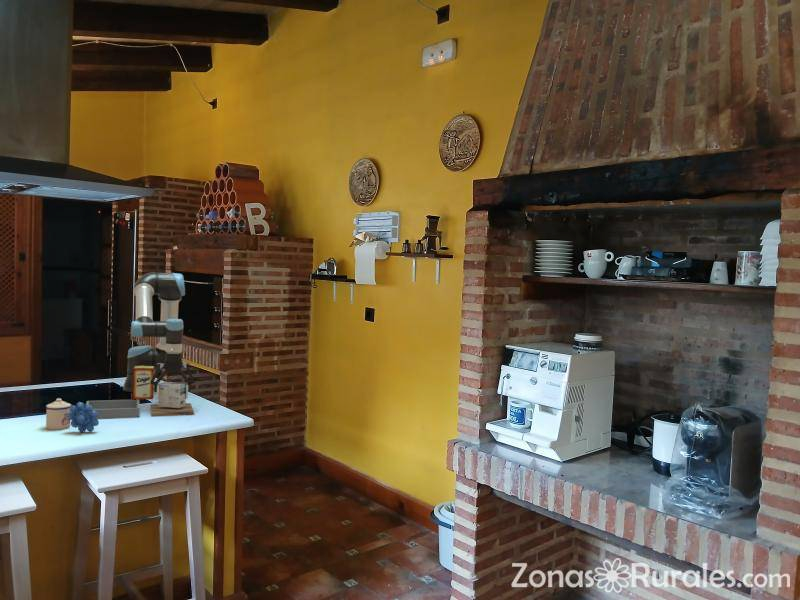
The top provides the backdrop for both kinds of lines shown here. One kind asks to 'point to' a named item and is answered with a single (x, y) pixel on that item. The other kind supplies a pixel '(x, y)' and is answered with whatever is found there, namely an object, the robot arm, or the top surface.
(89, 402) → the grey bin
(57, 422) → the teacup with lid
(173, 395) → the light bulb box
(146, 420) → the top surface
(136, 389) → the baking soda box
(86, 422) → the grapes
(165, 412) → the walnut board
